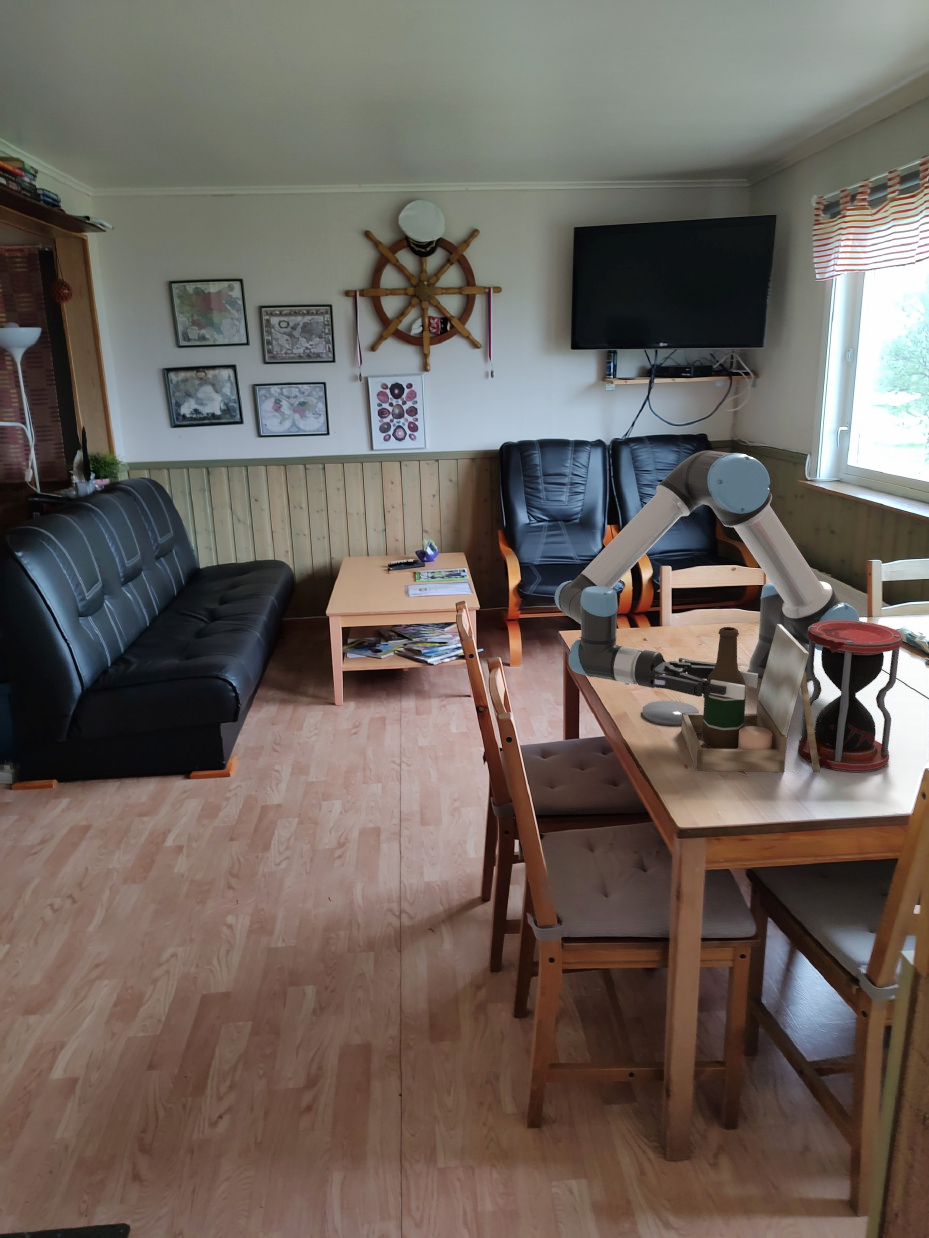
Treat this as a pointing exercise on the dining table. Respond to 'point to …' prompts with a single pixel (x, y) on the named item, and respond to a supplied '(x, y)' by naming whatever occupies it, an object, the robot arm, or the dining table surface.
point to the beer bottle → (721, 711)
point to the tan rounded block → (754, 738)
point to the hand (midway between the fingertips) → (750, 686)
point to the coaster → (667, 712)
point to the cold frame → (763, 714)
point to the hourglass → (850, 694)
